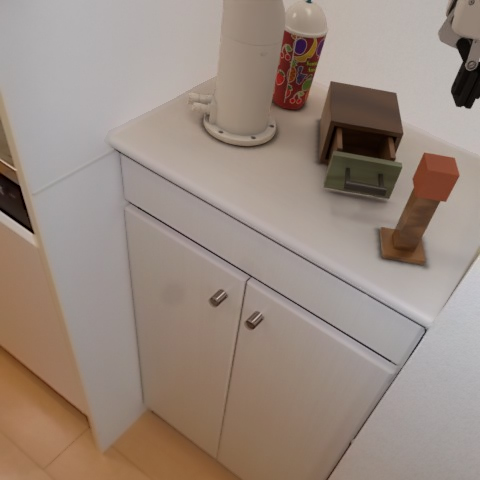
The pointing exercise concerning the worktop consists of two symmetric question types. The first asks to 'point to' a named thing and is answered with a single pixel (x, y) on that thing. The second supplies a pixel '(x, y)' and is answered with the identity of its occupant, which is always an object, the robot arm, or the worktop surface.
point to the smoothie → (299, 53)
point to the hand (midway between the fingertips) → (461, 101)
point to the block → (435, 177)
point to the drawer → (362, 163)
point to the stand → (409, 231)
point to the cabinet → (359, 114)
